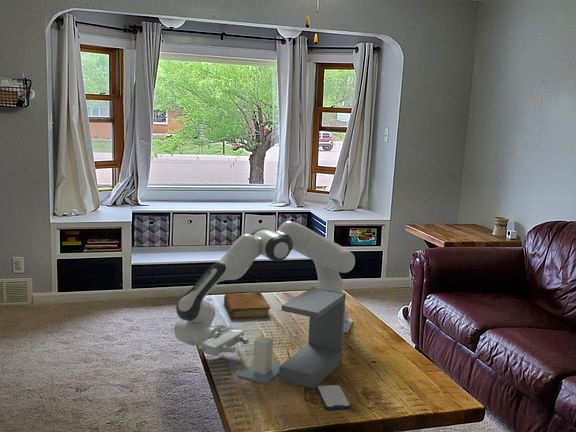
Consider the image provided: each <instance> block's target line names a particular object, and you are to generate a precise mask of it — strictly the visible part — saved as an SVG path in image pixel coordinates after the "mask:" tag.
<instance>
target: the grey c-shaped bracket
mask: <svg viewBox="0 0 576 432" xmlns="http://www.w3.org/2000/svg"><path fill="white" fill-rule="evenodd" d="M345 308H346V293H345V292H343V293H340V292H335V291H329V290H324V289H318V287H311V288H309V289H308V290H305V291H304V292H302V293H300V294H299V295H297V296H295V297H293V298H292V299H290V300H289V301H287V302H284V303H283V304H281V310H280V311H282V312H284V313H285V312H286V313H290V314H295V315H300V316H303V317H304V316H305V317H309V322H308V325H309V326H308V344H306V345H305V346H304V347H302V348H301V349H300V350H299V351H297V352H296V353H295V354H293V355H292V356H291V357H290V358H289V359H287V360H286V361H284V362H283V363H281V364H280V366H279V374H278V380H280V381H283V382H286V383H287V382H288V383H291V384H295V385H299V386H302V387H306V388H309V389H313V390H315V389H316V388H317V386H320V384H321V383H322V382H323V381H324V380H325V379H326V378H327V377H328V376H329V375H331V373H333V371H334V370H336V369H337V368H338V367H339V366H340V365H341V364H342V362H343V361H342V360H343V348H344V346H343V345H344V333H343V331H344V314H345Z"/></svg>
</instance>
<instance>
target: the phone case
mask: <svg viewBox="0 0 576 432" xmlns="http://www.w3.org/2000/svg"><path fill="white" fill-rule="evenodd" d="M316 392H317V393H318V396H319V398H320V400H321V402H322V405H323V407H324V409H325V411H328V412H329V411H330V412H331V411H332V412H333V411H348V410H351V408H352V405H351V403H350V401H349V399H348V398H347V396H346V394H345V391H344V390H343V388H342V387H341V385H339V384H331V385H329V384H328V385H327V384H325V385H317V386H316Z"/></svg>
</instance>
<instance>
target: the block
mask: <svg viewBox="0 0 576 432" xmlns="http://www.w3.org/2000/svg"><path fill="white" fill-rule="evenodd" d="M253 342H254V343H253V363H254V367H253V371H254V372H257V373H261V374H267V373H268V372H269V371H271V370H272V363H273V346H274V345H273V344H274V343H273V342H274V340H273V338H269V337H267V336H266V337H264V336H262V335H261V336H259V337H258V338H257V339H255V340H253Z"/></svg>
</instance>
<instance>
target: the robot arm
mask: <svg viewBox="0 0 576 432" xmlns="http://www.w3.org/2000/svg"><path fill="white" fill-rule="evenodd" d="M292 250H294V251H295V252H297V253H299V254H301V255H302V256H304V257H307V258H309V259H310V260H312V261H313V263H314V265H315V270H316V275H317V288H318V289H324V290H329V291H335V292H340V293H344V292H343V290H344V281H343V279H342V277H341V275H340V273H341V274H342V273H344V274H346V273H349V272H350V271H352V269H354V266H355V264H356V258H355V255H354V253H353V252H351V251H350V250H349V249H347V248H345V247H343V246H341V244H339V243H337V242H334V241H332V240H330V239H328V238H326V237H324V236H322V235H321V234H318V233H317V232H315V231H314V230H312V229H310V228H308V227H306V226H305V225H303V224H301V223H299V222H296V221H292V220H285V221H284V222H283V223H281V224H280V226H279V227H278V230H276V231H275V230H274V231H273V230H271V229H269V228H264V227H262V228H261V227H260V228H258V229H256V230H254V231H253V232H252V233H243V234H242V235H240V236H239V237H238V238H237V239H236V240H235V241H234V242H233V243H232V245H230V247H229V248H228V250H227V251H226V253H225V254H224V255H223V256H222V257H221V258H220V259H219V260H218V261H217V262H215V263H213V264H212V265H211V266H209V268H208V269H207V270H206V271H205V272H204V273H203V274H202V276H201V277H200V278H199V279H198V280H197V282H196V283H194V285H193V286H192V287H191V288H190V289H189V290H188V291H187V292H185V293H183V294H182V295H181V296H180V297H179V299H178V300H177V303H176V305H175V310H176V314H177V317H179V318H180V320H178V321H177V322H176V323H175V325H174V327H173V328H174V331H173V334H174V337H175V338H176V340H177V341H179V342H181V343H183V344H186V345H190V346H192V347H194V346H197V349H198V350H201V351H202V352H203V353H205V354H207V355H208V356H209V355H210V356H212V357H214V356H215V357H216V356H218V355H220V354H221V353H232V354H233V353H235V352H236V347H235V345H236V344H238V343H242V344H243V345H247V344H249V342H250V340H249V338H246V337H244V336H245V331H243V330H242V329H241V328H240V329H239V328H236V327H232V326H227V325H226V324H224V323H223V324H218V325H212V324H213V321H214V319H215V315H216V309H215V306H214V305H213V304H212V303H210V302H209V301H206V300H204V299H205V298H206V297H207V295H208V294H209V293H210V292H211V290H212V289H213V288H214V287H216V285H217V284H218V283H220V282H223V281H234V280H238V279H241V278H242V277H243V276H244V275H245V274H246V273H247V271H248V270H249V268H250V267H251V266H252V265H253V263H254V261H255V260H256V258H258V257H259V256H262V257H265V258H267V259H269V260H271V261H275V262H283V260H286V258H288V256H289V255H290V253H291V251H292ZM353 322H354V319H351V318H349V310H348V309H347V308H346V307H345V314H344V331H343V334H344V333H349V330H351V327H352V326H353Z"/></svg>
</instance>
